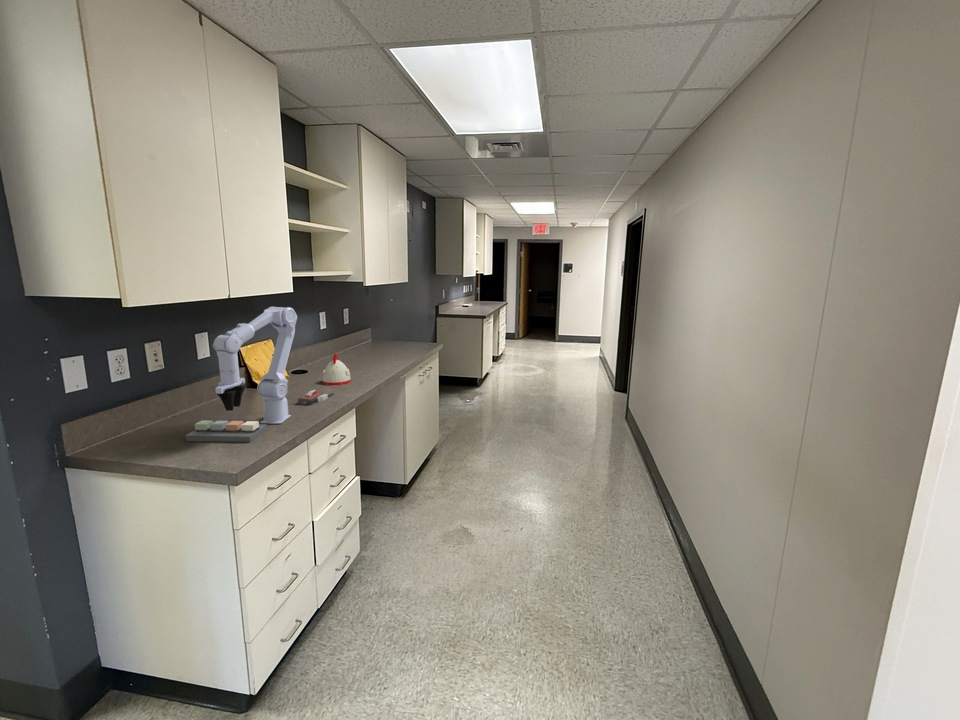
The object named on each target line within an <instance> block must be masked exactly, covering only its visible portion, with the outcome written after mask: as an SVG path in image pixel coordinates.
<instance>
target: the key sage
mask: <svg viewBox="0 0 960 720" xmlns="http://www.w3.org/2000/svg"><path fill="white" fill-rule="evenodd" d="M212 423H214V420H200V421H198V422H196V423H195V424H194V428H195V430H198V432H207V431H209V430H211V427H210V424H212Z"/></svg>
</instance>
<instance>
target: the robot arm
mask: <svg viewBox="0 0 960 720" xmlns="http://www.w3.org/2000/svg"><path fill="white" fill-rule="evenodd" d="M297 320H298V315H297V313H296V311H295V310H294V308H292V307H289V306H288V307H282V306H280V307H279V306H270V307H268V308H265V309H264V310H263V313H261V314H259V315H258V316H257V317H255V318H254V319H253V320H251V321H250V322H249V323H238V324H237V325H236V327H235V328H233V329H231V330H228V331H226V333H225V334H220V335H218V336H217V337H215V339H213V343H212V344H211V345H212V348H213V349H214V350H215V351H216V355H217V358H218V366H219V375H220V378H219V379H220V381H219V382H217V385H218V386H217V387H215V388H214V389H215V394H216V395H217V396H218V397H219V398H220V400H221V402H222V404H223V406H224V408H225V411H229V412H230V411H231V412H232V411H234V407H237V408H240V407H241V405H242V403H241V402H242V397H243V394H244V391H245V389H246V385H243V384H245V383H246V379H245V377H240V369H239V368H240V366H239V357H238V352H239V351H240V349H241V347H242V345H244V344H245V343H246V342H247V341H249V340H250V339H252V338H254V336H255V332H257V331H259V330H260V329H262V328H263V327H266V326H267V325H269V324H270V325H271V326H273V328H274V329H276V331H277V332H278V335H277V340H276V344H275V346H274V350H273V354H272V358H271V361H270V364H269V368H268V371H267V373H265V374H264V375H262V376H261V380H260V382H259V383H258V384H257V388H256V391H257V394H258V395H259V396H260V397H261V398H260V399H262V407H263V418H264V419H262V420H261V421H260V422H259V424H265V425H268V424H270V425H271V424H273V425H275V424H277V425H278V424H279V425H280V424H282V423H283V422H285V421H286V420H288V419H289V418H290V417H292V415H291V414H289V406H288V405H289V404H288V399H287V398H286V395H287V393H288V383H289V381H288V379H287V377H285V372H286V371H285V370H286V367H287V363H288V359H289V356H290V352H291V348H292V344H293V341H294V338H295V332H296V324H297Z"/></svg>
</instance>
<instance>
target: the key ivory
mask: <svg viewBox="0 0 960 720" xmlns="http://www.w3.org/2000/svg"><path fill="white" fill-rule="evenodd" d="M259 424H260V422H259V420H255V421H254V420H251V421H250V420H247V421H246V422H244V424H242V425H241V427H242V430H244V431H245V432H246V433H253V432H255V431H256V430H257V428H258V427H259Z"/></svg>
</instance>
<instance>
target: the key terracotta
mask: <svg viewBox="0 0 960 720" xmlns="http://www.w3.org/2000/svg"><path fill="white" fill-rule="evenodd" d="M244 423H245V422H244V421H243V420H231V421H228V424H226V430H229V432H239V431H240V430H242V429H241V428H242V427H241V425H242V424H244Z"/></svg>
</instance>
